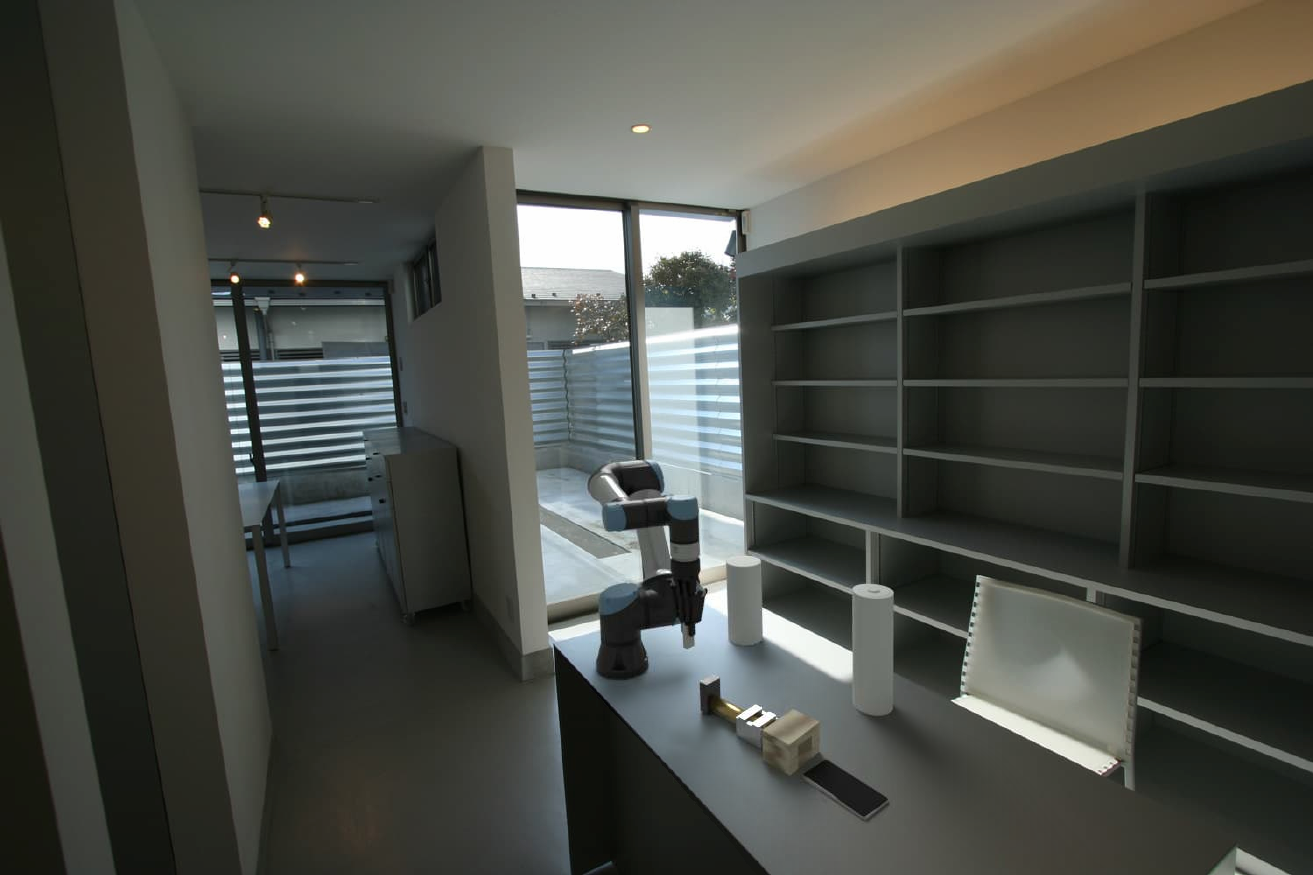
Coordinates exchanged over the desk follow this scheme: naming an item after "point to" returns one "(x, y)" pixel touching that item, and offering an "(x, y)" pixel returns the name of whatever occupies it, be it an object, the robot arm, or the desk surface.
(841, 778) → the smartphone
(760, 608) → the tall pillar cylinder
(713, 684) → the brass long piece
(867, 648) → the cylinder container
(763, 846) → the desk surface
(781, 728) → the socket
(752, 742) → the sleeve
